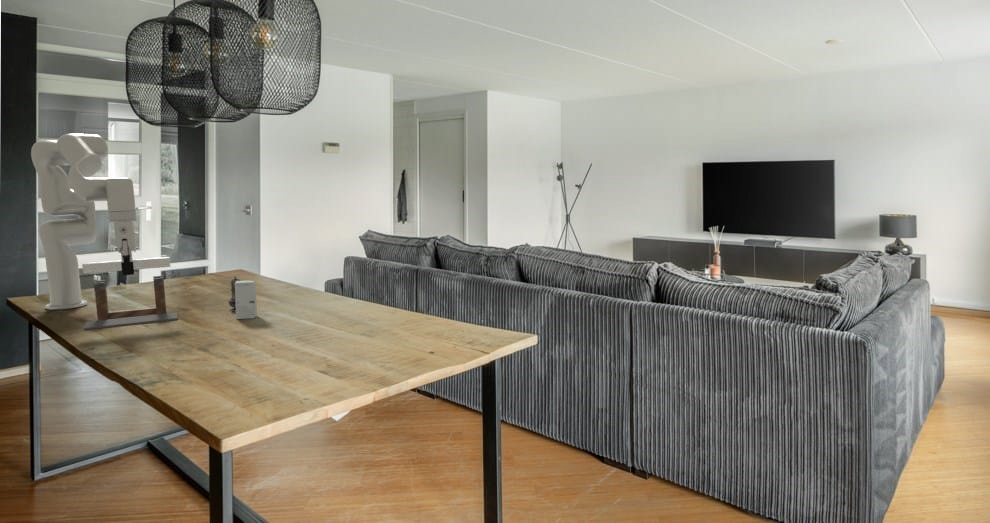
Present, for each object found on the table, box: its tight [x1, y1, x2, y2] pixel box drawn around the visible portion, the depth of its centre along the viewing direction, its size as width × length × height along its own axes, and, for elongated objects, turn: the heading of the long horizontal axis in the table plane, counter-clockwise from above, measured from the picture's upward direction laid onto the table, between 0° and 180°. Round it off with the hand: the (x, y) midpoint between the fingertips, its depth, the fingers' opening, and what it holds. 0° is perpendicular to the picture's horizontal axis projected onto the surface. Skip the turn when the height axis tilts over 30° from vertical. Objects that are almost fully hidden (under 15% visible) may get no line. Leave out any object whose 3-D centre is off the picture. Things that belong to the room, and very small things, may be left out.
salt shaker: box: [227, 276, 241, 313], centre depth 217 cm, size 6×6×12 cm
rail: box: [81, 256, 171, 274], centre depth 200 cm, size 24×3×3 cm, turn 119°
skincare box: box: [235, 280, 258, 320], centre depth 206 cm, size 6×4×12 cm
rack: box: [93, 275, 167, 321], centre depth 210 cm, size 20×6×12 cm, turn 119°
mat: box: [82, 312, 179, 331], centre depth 202 cm, size 26×10×1 cm, turn 119°
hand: (128, 273), depth 200 cm, fingers closed on rail, 3 cm apart
